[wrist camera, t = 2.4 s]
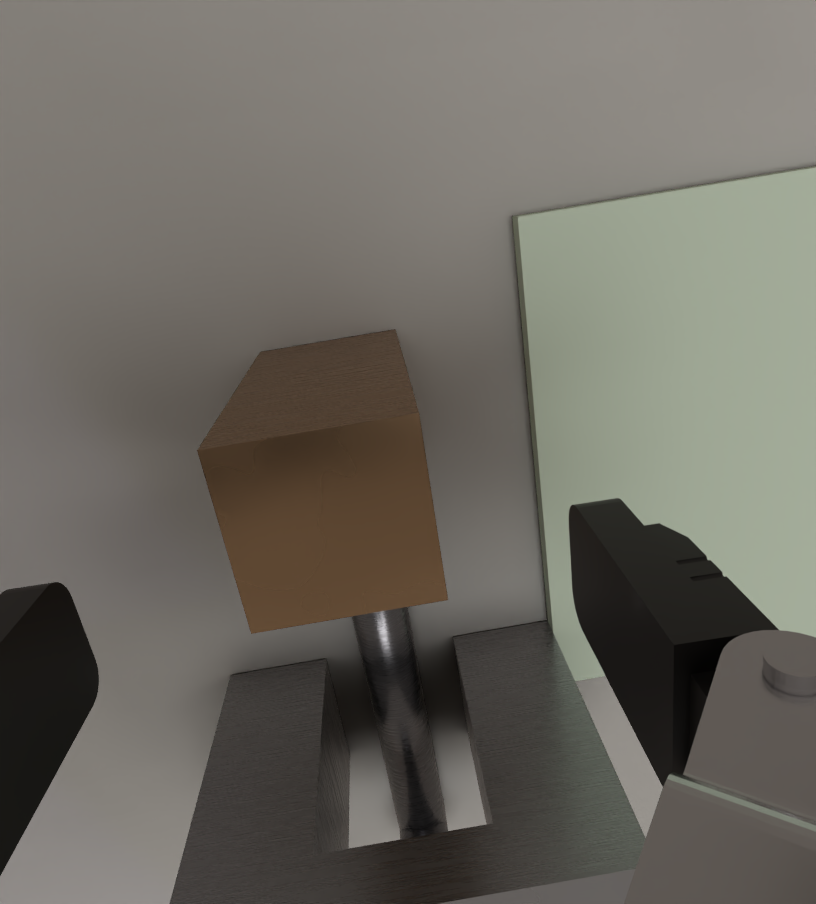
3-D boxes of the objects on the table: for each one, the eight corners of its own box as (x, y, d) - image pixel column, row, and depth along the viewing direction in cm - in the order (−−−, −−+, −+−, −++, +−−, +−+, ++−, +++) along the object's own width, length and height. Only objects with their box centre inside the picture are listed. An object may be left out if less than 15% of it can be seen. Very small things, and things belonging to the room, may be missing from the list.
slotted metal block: (230, 675, 20) (156, 952, 13) (547, 620, 20) (657, 865, 13) (261, 770, 22) (210, 1068, 14) (556, 719, 22) (659, 988, 14)
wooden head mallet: (260, 351, 17) (197, 450, 10) (395, 329, 17) (418, 412, 10) (375, 828, 23) (382, 1076, 16) (472, 811, 23) (518, 1052, 17)
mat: (512, 216, 16) (517, 216, 15) (913, 149, 16) (933, 147, 15) (552, 671, 21) (557, 684, 20) (855, 618, 21) (868, 630, 21)
